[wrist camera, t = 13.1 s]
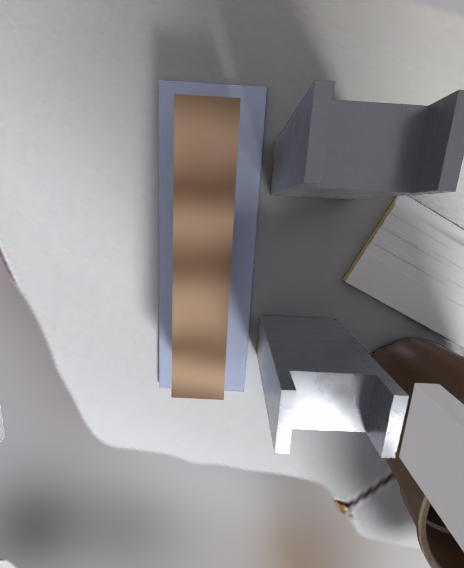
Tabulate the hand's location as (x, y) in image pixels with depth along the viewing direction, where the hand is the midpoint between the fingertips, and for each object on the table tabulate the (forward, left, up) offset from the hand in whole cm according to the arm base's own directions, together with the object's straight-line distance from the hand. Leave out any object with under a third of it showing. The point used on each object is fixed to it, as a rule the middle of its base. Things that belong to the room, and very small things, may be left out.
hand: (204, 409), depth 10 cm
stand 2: (-8, -9, -24) cm, 26 cm away
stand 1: (+10, -9, -24) cm, 27 cm away
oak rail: (+1, +2, -23) cm, 23 cm away
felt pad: (+1, +2, -24) cm, 24 cm away
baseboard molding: (-2, -30, -25) cm, 39 cm away
